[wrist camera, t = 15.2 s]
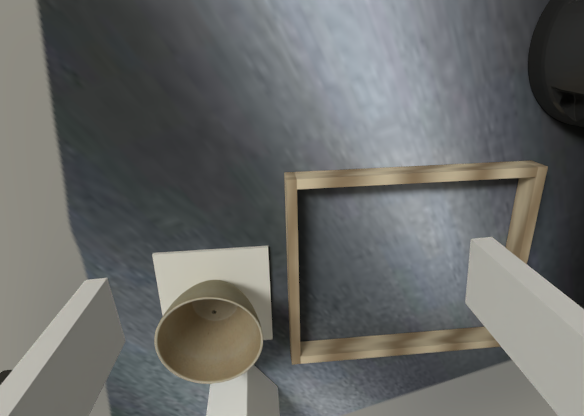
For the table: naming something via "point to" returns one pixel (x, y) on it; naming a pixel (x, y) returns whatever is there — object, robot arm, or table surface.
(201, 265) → the mat
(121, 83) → the table surface
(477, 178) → the wooden frame
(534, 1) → the table surface
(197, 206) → the table surface
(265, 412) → the milk
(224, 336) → the flower pot
